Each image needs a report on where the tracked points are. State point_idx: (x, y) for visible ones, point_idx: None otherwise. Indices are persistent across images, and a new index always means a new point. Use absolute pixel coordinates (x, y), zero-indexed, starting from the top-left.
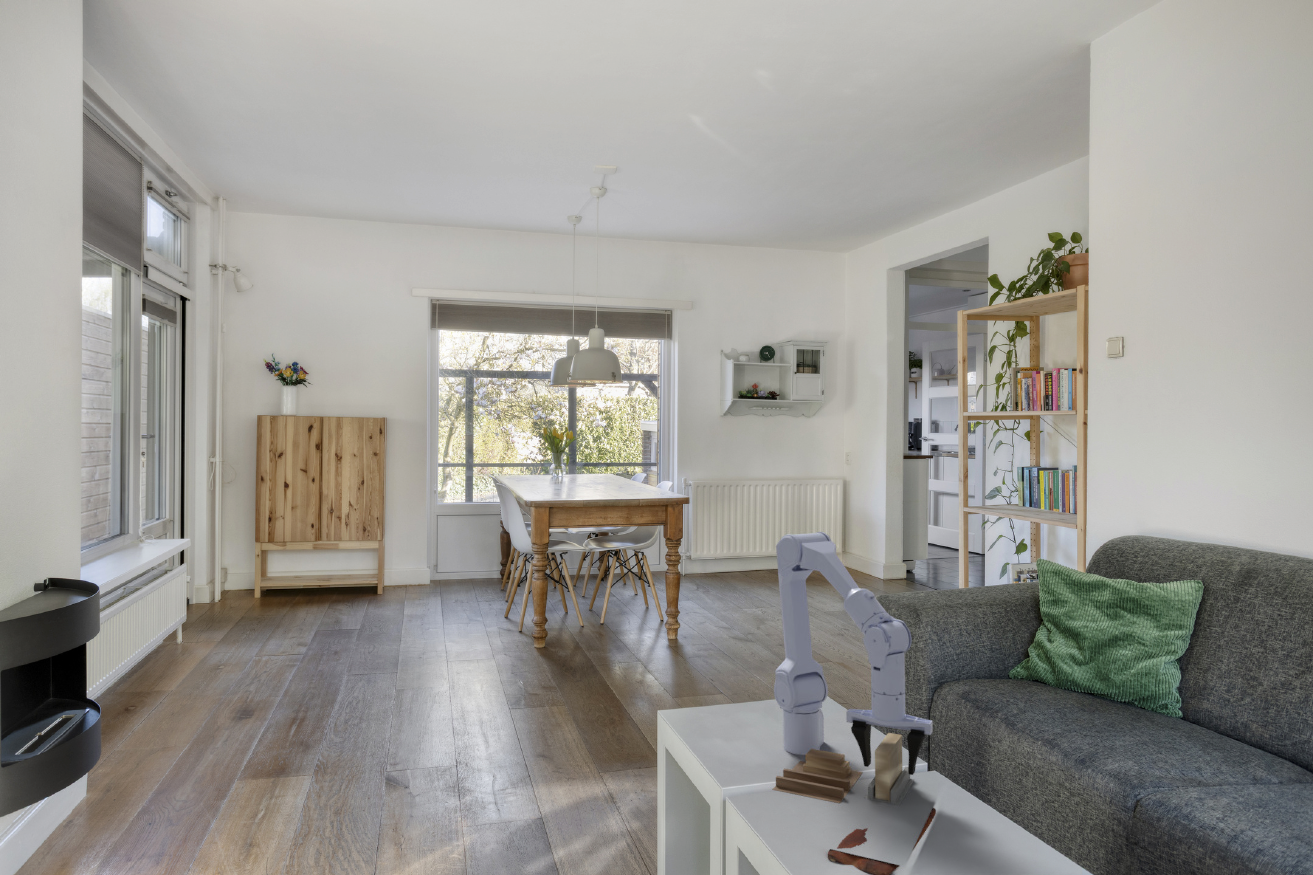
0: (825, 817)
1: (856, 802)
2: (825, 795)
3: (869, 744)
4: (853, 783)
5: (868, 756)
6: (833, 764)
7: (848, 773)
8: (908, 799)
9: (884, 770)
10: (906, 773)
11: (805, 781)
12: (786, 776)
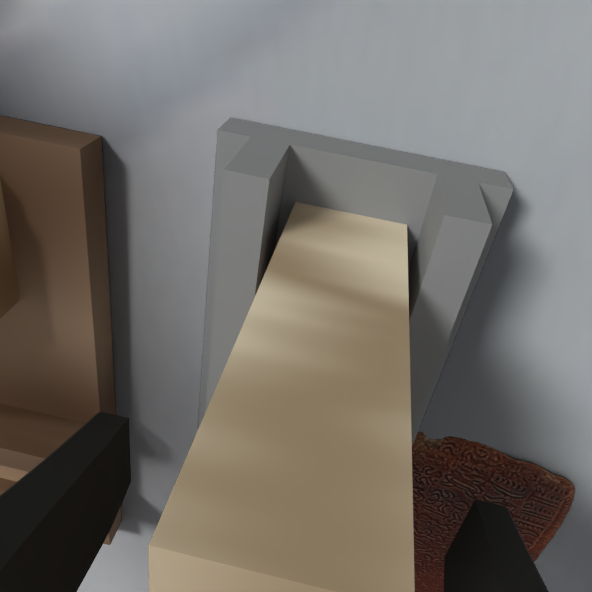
0: (98, 570)
1: (167, 464)
2: None
3: (25, 568)
4: (90, 353)
5: (92, 527)
6: None
7: (4, 238)
8: (431, 401)
9: None
10: (437, 365)
11: None
12: None
